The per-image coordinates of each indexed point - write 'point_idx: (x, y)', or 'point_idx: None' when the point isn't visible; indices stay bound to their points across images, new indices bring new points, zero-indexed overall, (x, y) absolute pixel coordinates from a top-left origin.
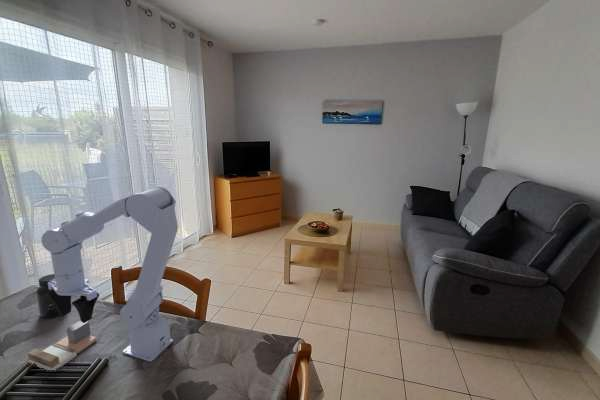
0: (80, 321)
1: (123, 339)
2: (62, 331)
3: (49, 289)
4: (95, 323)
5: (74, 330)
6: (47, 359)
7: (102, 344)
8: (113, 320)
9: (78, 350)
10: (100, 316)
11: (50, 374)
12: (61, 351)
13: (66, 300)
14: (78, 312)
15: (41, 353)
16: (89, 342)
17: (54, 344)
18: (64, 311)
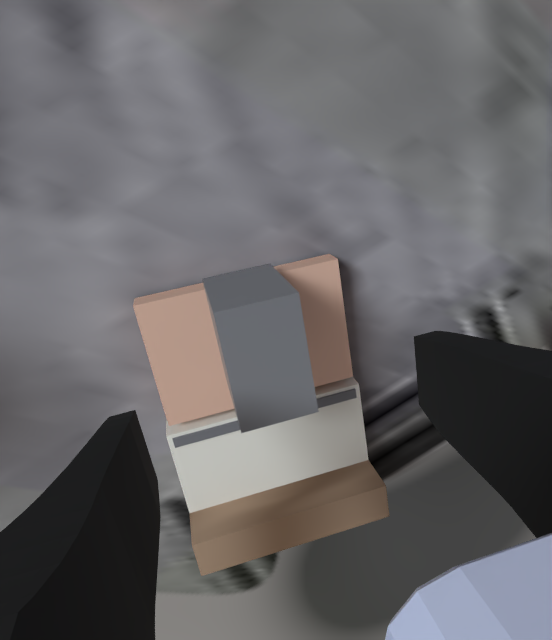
0: (231, 331)
1: (466, 148)
2: (4, 337)
3: None
4: (106, 149)
5: (316, 403)
6: (355, 522)
7: (389, 248)
8: (194, 39)
9: (349, 367)
10: (24, 62)
11: None
12: (285, 430)
13: (118, 553)
14: (517, 509)
15: (275, 533)
16: (343, 304)
17: (182, 438)
18: (152, 491)
